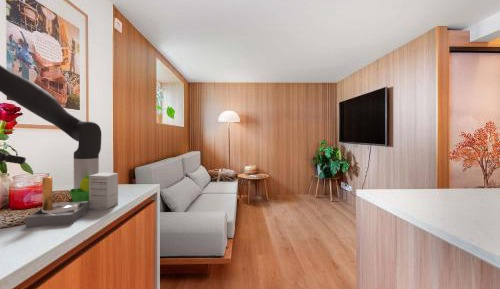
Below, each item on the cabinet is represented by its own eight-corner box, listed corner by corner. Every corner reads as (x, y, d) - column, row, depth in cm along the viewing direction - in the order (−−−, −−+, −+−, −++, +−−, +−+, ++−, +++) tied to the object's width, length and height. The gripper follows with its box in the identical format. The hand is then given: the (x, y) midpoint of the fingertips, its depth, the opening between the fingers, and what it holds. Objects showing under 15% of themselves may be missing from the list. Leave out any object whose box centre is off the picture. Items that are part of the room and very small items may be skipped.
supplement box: (100, 203, 100) (100, 172, 99) (118, 203, 99) (118, 172, 99) (88, 208, 92) (88, 175, 92) (107, 209, 92) (107, 175, 92)
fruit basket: (103, 197, 108) (103, 172, 107) (103, 202, 100) (103, 175, 100) (71, 201, 102) (71, 174, 101) (69, 206, 94) (69, 177, 94)
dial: (67, 206, 89) (67, 172, 88) (86, 209, 85) (86, 174, 84) (34, 214, 79) (33, 176, 79) (52, 218, 76) (52, 179, 75)
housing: (51, 211, 88) (51, 197, 88) (89, 208, 92) (89, 195, 92) (25, 227, 73) (25, 210, 73) (72, 224, 76) (72, 208, 76)
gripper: (-65, 132, 64) (20, 147, 71) (-35, 137, 75) (35, 150, 83) (-77, 160, 62) (11, 173, 70) (-45, 161, 74) (27, 172, 82)
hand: (24, 160), depth 76 cm, fingers closed
